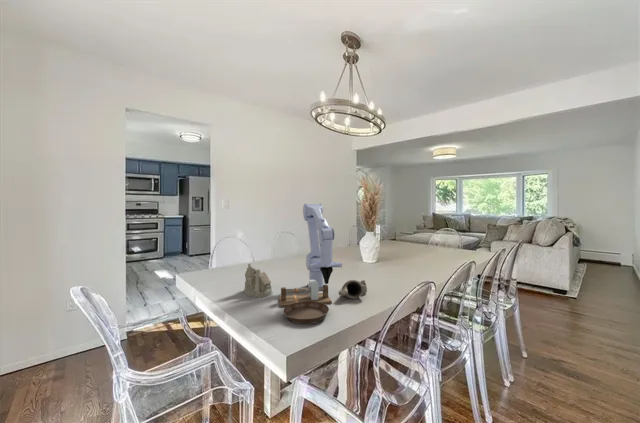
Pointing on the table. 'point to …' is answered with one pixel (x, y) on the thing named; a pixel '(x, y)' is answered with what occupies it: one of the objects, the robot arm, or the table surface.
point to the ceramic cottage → (257, 283)
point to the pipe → (353, 289)
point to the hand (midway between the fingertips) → (326, 283)
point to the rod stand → (303, 296)
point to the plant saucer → (306, 312)
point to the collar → (313, 289)
